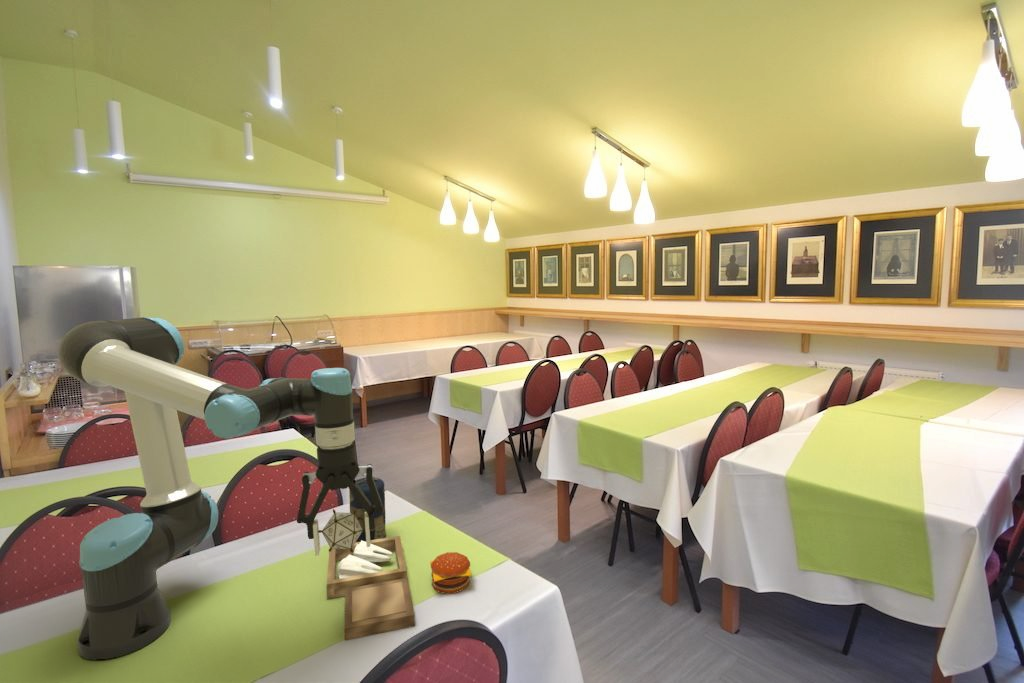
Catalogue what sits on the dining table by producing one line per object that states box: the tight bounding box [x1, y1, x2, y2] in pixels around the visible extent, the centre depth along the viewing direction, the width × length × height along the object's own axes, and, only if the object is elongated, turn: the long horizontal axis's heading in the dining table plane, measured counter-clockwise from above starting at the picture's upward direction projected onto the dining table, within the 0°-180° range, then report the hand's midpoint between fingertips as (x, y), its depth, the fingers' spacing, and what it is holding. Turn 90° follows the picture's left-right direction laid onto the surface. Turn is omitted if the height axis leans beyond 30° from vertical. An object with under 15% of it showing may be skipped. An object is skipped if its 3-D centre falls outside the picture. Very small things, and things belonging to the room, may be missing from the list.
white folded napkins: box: [336, 540, 394, 579], centre depth 126 cm, size 12×4×11 cm
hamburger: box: [429, 551, 472, 594], centre depth 121 cm, size 9×10×7 cm
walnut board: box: [343, 577, 416, 641], centre depth 110 cm, size 14×14×3 cm
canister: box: [348, 476, 387, 542], centre depth 140 cm, size 10×10×18 cm
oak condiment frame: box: [326, 535, 408, 600], centre depth 126 cm, size 18×18×4 cm
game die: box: [318, 509, 366, 553], centre depth 105 cm, size 9×8×10 cm
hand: (343, 547), depth 105 cm, fingers closed on game die, 9 cm apart
